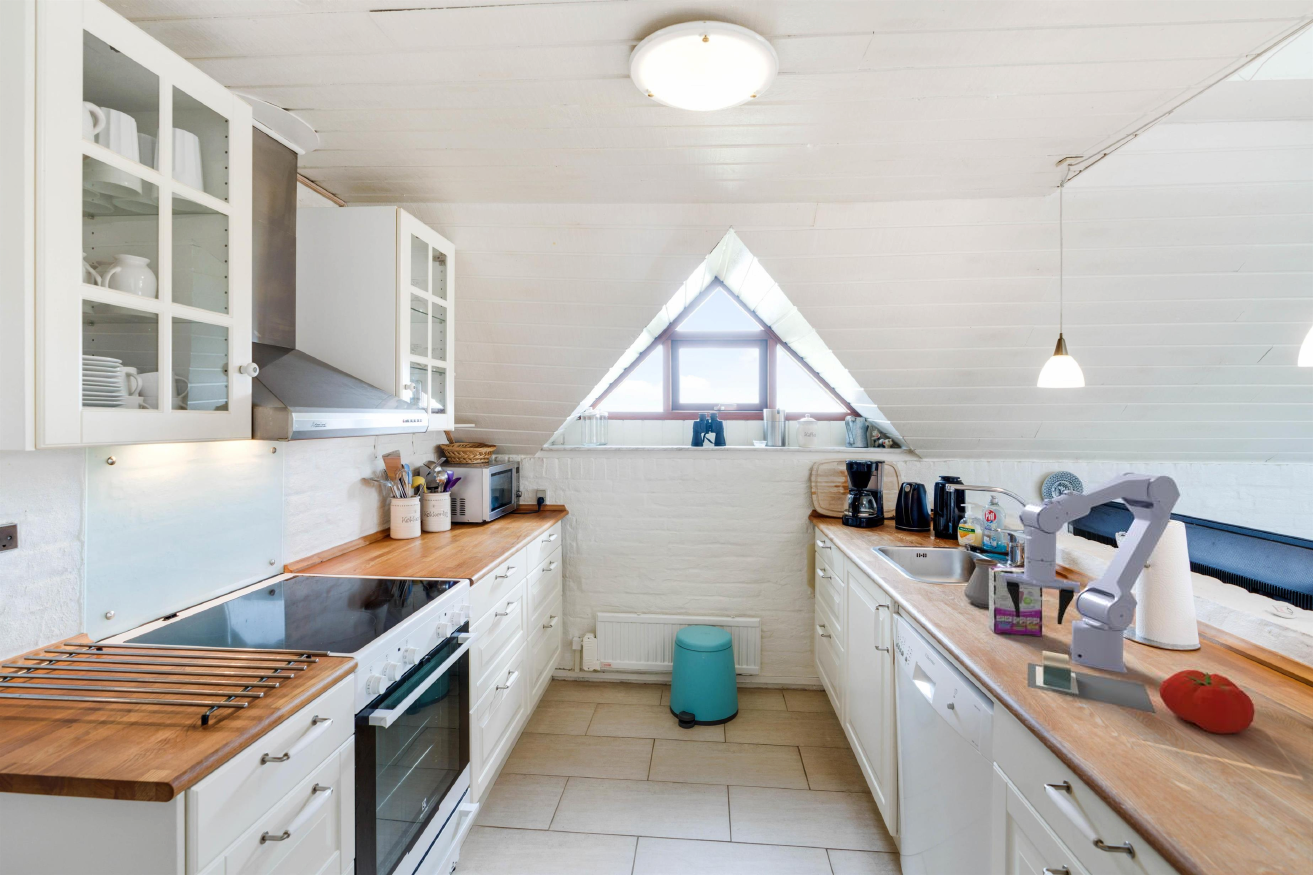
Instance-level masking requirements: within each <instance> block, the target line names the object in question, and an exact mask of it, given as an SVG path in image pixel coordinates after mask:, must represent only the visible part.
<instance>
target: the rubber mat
mask: <svg viewBox="0 0 1313 875" xmlns="http://www.w3.org/2000/svg"><path fill="white" fill-rule="evenodd" d="M1026 683H1027V684H1026V685H1027V687H1028V688H1032V689H1033V688H1034V689H1038V690H1043V691H1047V692H1052V693H1058V694H1062V695H1065V696H1071V697H1075V698H1081V699H1084V700H1085V699H1086V700H1090V701H1096V702H1100V703H1104V704H1108V705H1109V704H1110V705H1114V706H1119V707H1125V708H1130V709H1134V710H1138V711H1143V712H1147V713H1154V714H1156V711H1155V710H1156V709H1155V707H1154V705H1153V704H1152V701H1151V698H1150V696H1149V694H1148V692H1147V689H1146V687H1145V685H1144V684H1142V683H1137V682H1133V681H1127V680H1122V679H1116V678H1113V677H1108V676H1107V677H1106V676H1103V675H1102V676H1100V675H1095V674H1090V673H1085V672H1080V671H1074V670H1071V690H1068V689H1063V688H1058V687H1053V686H1048V685H1043V671H1042V664H1039V663H1038V664H1037V663H1031V662H1027V682H1026Z"/></svg>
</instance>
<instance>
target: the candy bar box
mask: <svg viewBox="0 0 1313 875" xmlns="http://www.w3.org/2000/svg"><path fill="white" fill-rule="evenodd" d="M1011 567H1012V566H1010V567H1009V566H996V567H989V607H988V625H989V626H988V628H989V629H990V630H991V631H992V632H993V633H994V634H998V635H1000V634H1001V635H1014V636H1028V637H1043V588H1041V587H1033V586H1026V585H1020V590H1019V605H1020V618H1017V617H1016V612H1015V607H1014V604H1013V601H1012V598H1011V596H1010V594H1009V592H1008V590H1007V587H1006V586H1007V583H1001V573H1009V574H1024V567H1022V568H1011Z"/></svg>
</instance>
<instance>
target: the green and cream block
mask: <svg viewBox="0 0 1313 875" xmlns="http://www.w3.org/2000/svg"><path fill="white" fill-rule="evenodd" d="M1041 663H1042V664H1041V665H1042V671H1043V685H1048V686H1053V687H1058V688H1063V689H1068V690H1071V671H1072V668H1071V664H1070V659H1069V654H1065V653H1058V652H1052V651H1047V650H1042V662H1041Z"/></svg>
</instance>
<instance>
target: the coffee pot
mask: <svg viewBox="0 0 1313 875" xmlns="http://www.w3.org/2000/svg"><path fill="white" fill-rule="evenodd" d="M973 562H974V563H975V568H974V571H973V573H972V574H971V576H970V579H969V580H968V581H967V583H966V586H965V587H964V590H963V594H964V596H965V597H966V598H967V600H968V601H970V603H971V604H973V605H975V606H978V607H982V608H989V567H998V565H999V561H997V560H994V559H989V558H975V559H973ZM1010 567H1011V568H1024V567H1025V562H1022V563H1019V564H1015V565H1013V566H1010Z"/></svg>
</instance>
